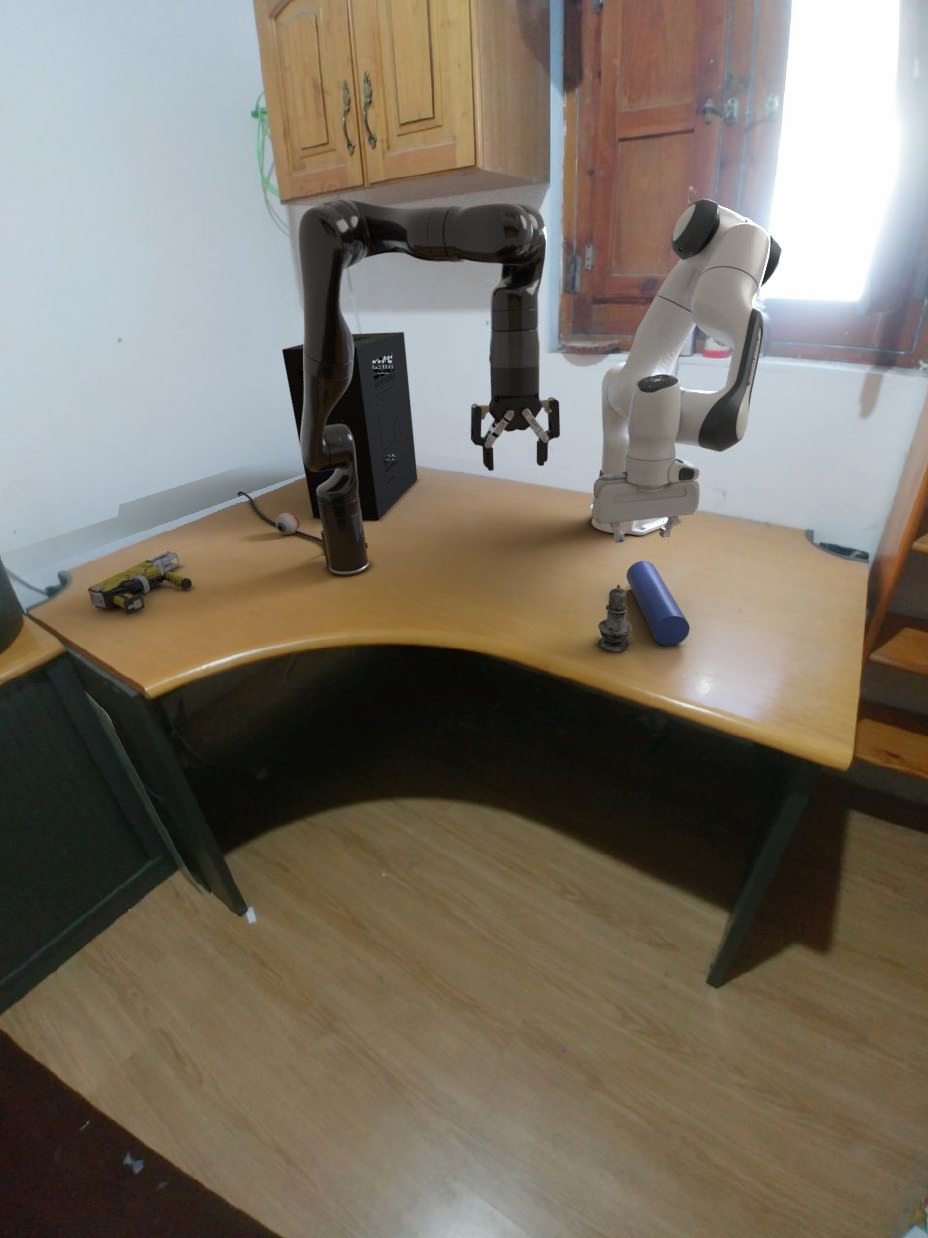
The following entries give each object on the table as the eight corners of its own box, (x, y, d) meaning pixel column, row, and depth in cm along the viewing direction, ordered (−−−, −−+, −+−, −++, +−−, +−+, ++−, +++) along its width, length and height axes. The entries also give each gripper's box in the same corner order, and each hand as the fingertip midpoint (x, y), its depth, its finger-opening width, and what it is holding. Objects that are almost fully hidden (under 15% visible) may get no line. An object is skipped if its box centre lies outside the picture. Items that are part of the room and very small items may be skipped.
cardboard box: (378, 519, 171) (356, 347, 149) (313, 517, 176) (282, 349, 153) (417, 479, 203) (403, 331, 180) (361, 478, 207) (341, 334, 185)
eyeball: (273, 537, 164) (268, 516, 161) (287, 528, 169) (282, 508, 166) (291, 539, 161) (286, 518, 158) (305, 530, 166) (301, 510, 163)
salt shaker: (630, 653, 106) (637, 593, 100) (596, 651, 107) (601, 591, 101) (629, 636, 111) (635, 577, 105) (597, 634, 112) (601, 576, 106)
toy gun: (215, 559, 144) (165, 548, 148) (137, 602, 124) (81, 588, 128) (218, 577, 147) (168, 566, 151) (142, 621, 127) (87, 607, 131)
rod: (625, 588, 128) (627, 561, 125) (654, 586, 128) (657, 560, 125) (652, 646, 108) (655, 616, 105) (687, 645, 108) (691, 615, 105)
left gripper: (473, 368, 88) (477, 477, 96) (567, 361, 90) (563, 469, 98) (464, 362, 94) (469, 465, 102) (552, 355, 96) (550, 457, 104)
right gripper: (600, 480, 108) (595, 550, 115) (708, 469, 110) (697, 539, 117) (589, 470, 114) (585, 538, 121) (692, 460, 116) (682, 527, 123)
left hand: (515, 467), depth 100 cm, fingers open, 8 cm apart
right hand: (641, 538), depth 119 cm, fingers open, 8 cm apart
